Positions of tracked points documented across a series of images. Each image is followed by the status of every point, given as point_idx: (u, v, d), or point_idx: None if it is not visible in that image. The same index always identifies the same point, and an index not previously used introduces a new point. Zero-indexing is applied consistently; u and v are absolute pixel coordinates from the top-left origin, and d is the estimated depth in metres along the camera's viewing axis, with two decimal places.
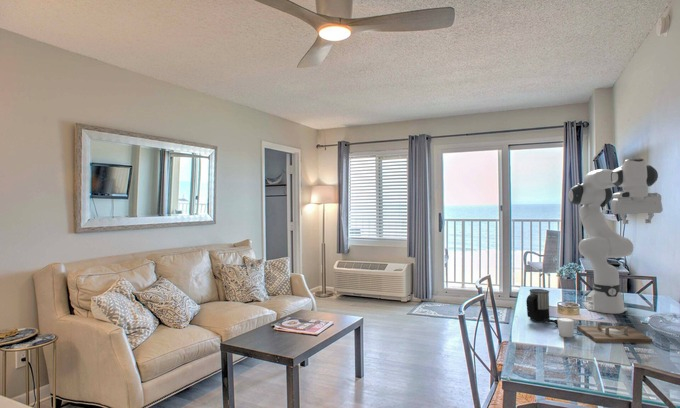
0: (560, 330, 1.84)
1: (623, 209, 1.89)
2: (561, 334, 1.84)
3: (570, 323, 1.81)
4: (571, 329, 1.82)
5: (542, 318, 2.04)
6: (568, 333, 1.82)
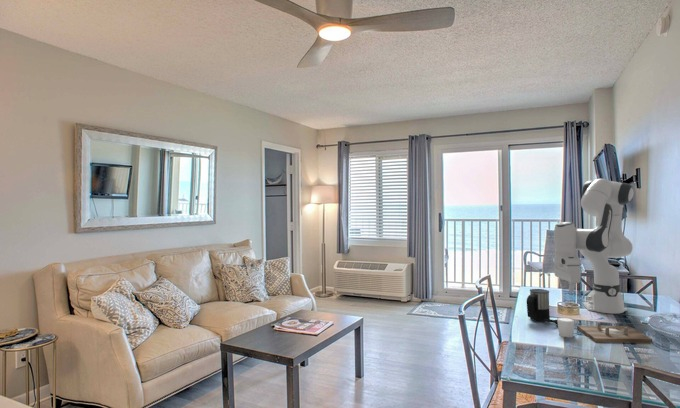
0: (560, 330, 1.84)
1: None
2: (561, 334, 1.84)
3: (570, 323, 1.81)
4: (571, 329, 1.82)
5: (542, 318, 2.04)
6: (568, 333, 1.82)
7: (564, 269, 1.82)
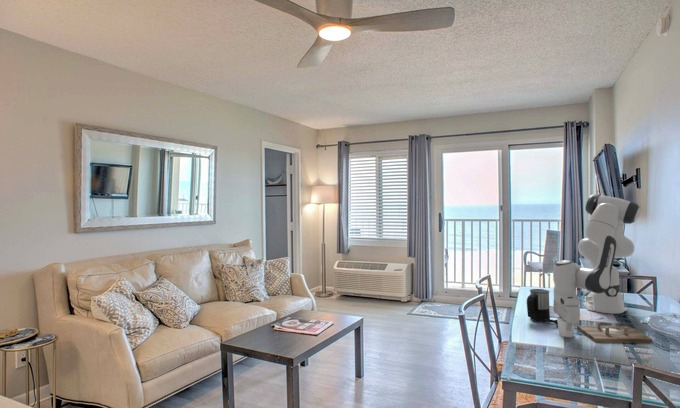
0: (560, 330, 1.84)
1: None
2: (561, 334, 1.84)
3: None
4: None
5: (542, 318, 2.04)
6: (568, 333, 1.82)
7: (563, 308, 1.83)
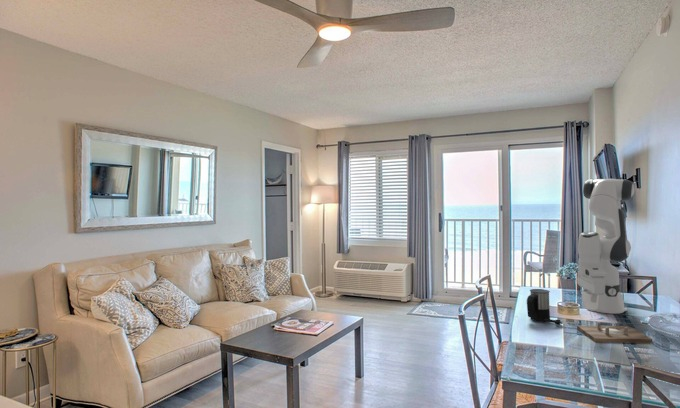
0: (584, 303, 1.83)
1: None
2: (585, 306, 1.83)
3: None
4: None
5: (542, 318, 2.04)
6: (592, 305, 1.81)
7: (588, 280, 1.82)
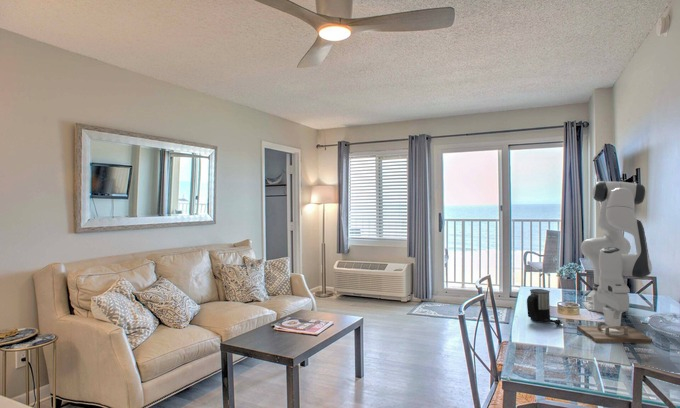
0: (607, 319, 1.81)
1: None
2: (608, 323, 1.81)
3: None
4: None
5: (542, 318, 2.04)
6: (615, 322, 1.79)
7: (610, 296, 1.80)
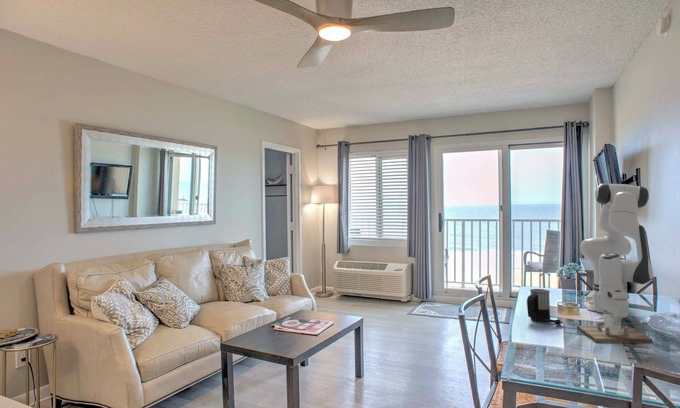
0: (606, 326, 1.81)
1: None
2: None
3: None
4: None
5: (543, 318, 2.04)
6: (615, 329, 1.79)
7: (609, 302, 1.80)
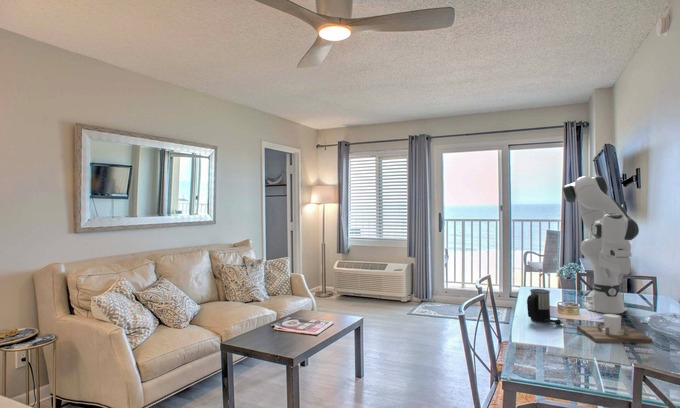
0: (606, 326, 1.81)
1: None
2: None
3: (617, 319, 1.78)
4: (618, 325, 1.79)
5: (543, 318, 2.04)
6: (615, 329, 1.79)
7: (612, 260, 1.86)
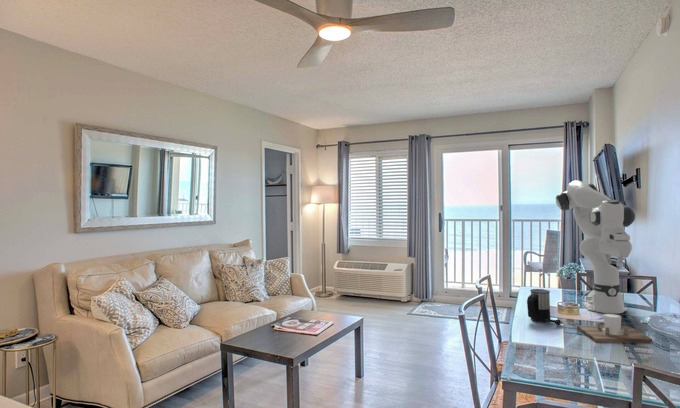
0: (606, 326, 1.81)
1: None
2: None
3: (617, 319, 1.78)
4: (618, 325, 1.79)
5: (543, 318, 2.04)
6: (615, 329, 1.79)
7: (611, 245, 1.91)
